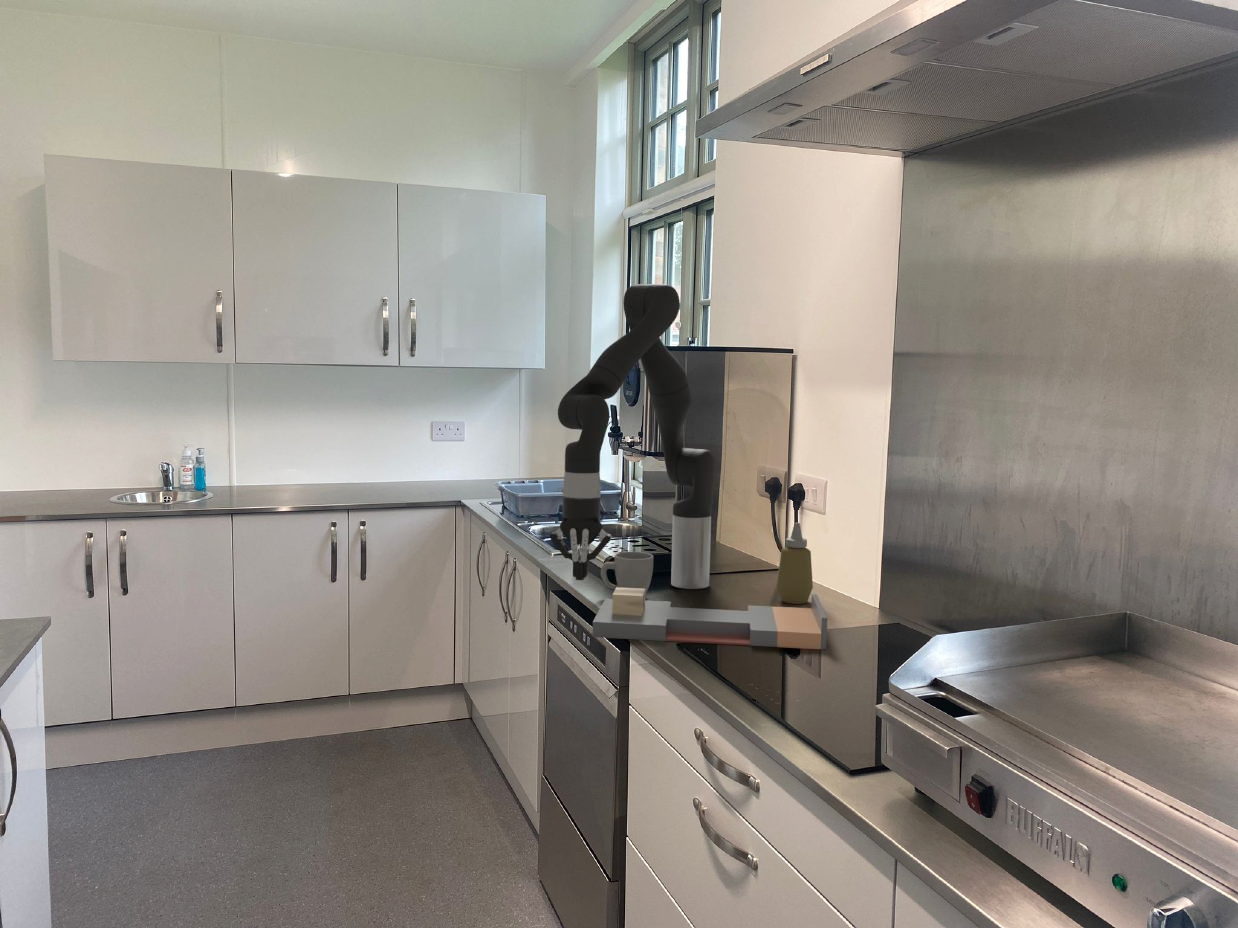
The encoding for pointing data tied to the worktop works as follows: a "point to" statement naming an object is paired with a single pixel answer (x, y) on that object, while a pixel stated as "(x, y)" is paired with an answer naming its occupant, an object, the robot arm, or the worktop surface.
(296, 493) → the worktop surface
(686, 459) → the robot arm
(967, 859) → the worktop surface
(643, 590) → the maple block
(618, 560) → the mug
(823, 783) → the worktop surface
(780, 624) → the trap deck
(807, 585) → the squeeze bottle
